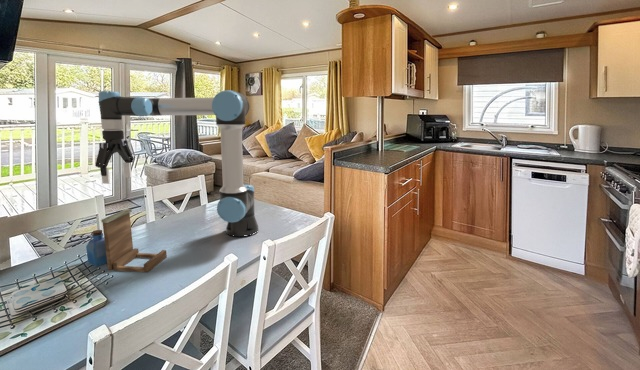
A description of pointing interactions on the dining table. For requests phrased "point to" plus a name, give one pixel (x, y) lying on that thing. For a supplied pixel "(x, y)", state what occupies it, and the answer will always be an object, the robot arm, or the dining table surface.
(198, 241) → the dining table surface
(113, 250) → the wooden l-shaped stand
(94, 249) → the perfume bottle
